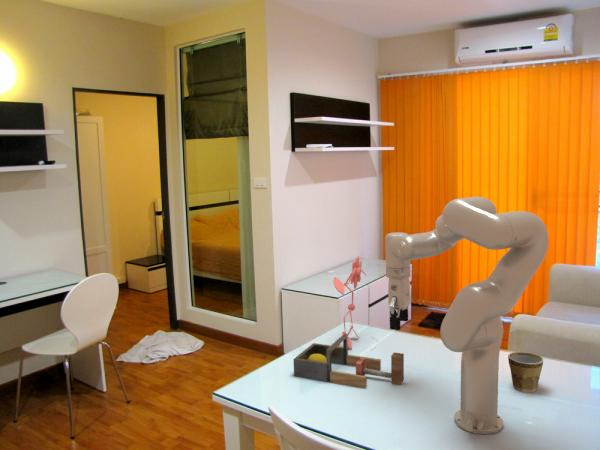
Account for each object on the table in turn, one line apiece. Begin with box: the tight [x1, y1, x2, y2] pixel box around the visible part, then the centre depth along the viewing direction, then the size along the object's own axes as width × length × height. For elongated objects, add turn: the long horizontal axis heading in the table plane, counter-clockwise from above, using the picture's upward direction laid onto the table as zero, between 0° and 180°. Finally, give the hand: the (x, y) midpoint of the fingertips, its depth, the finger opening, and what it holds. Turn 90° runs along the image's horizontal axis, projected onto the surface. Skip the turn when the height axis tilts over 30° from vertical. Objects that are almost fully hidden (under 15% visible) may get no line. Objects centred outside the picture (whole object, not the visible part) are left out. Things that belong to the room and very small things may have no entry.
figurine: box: [333, 255, 379, 351], centre depth 202 cm, size 15×26×35 cm, turn 157°
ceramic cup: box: [507, 351, 544, 394], centre depth 163 cm, size 13×10×10 cm
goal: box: [293, 333, 349, 383], centre depth 180 cm, size 16×13×11 cm
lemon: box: [307, 354, 327, 363], centre depth 181 cm, size 6×6×8 cm
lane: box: [329, 354, 382, 389], centre depth 175 cm, size 16×12×4 cm
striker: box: [355, 351, 405, 385], centre depth 171 cm, size 6×15×9 cm, turn 64°
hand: (399, 325), depth 166 cm, fingers open, 9 cm apart
